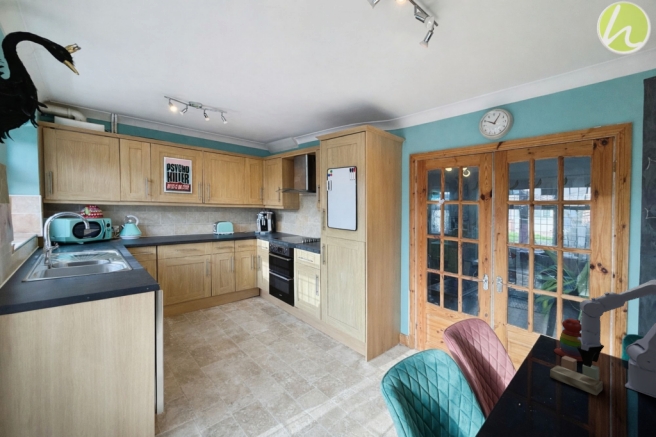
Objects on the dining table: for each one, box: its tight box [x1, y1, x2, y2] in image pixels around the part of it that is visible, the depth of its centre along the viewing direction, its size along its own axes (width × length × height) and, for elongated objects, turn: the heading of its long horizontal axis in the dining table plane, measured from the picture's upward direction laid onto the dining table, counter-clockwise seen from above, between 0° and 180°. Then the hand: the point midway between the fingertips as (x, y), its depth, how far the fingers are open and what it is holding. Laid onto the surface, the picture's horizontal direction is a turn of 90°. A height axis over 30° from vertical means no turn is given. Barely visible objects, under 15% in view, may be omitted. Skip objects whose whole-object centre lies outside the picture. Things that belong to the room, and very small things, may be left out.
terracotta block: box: [560, 356, 578, 372], centre depth 118 cm, size 4×4×5 cm
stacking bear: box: [553, 318, 583, 362], centre depth 131 cm, size 11×10×18 cm
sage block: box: [582, 364, 600, 381], centre depth 112 cm, size 4×4×5 cm
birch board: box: [549, 365, 604, 396], centre depth 109 cm, size 14×7×3 cm, turn 32°
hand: (590, 363), depth 113 cm, fingers open, 7 cm apart
